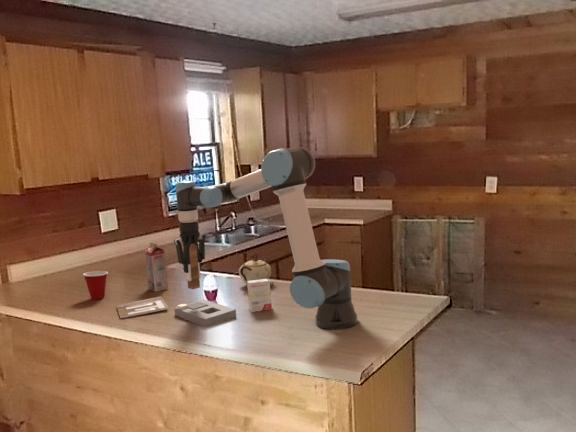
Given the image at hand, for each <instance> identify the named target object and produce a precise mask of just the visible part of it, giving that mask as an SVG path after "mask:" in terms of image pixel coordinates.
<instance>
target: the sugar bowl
mask: <svg viewBox="0 0 576 432" xmlns="http://www.w3.org/2000/svg"><path fill="white" fill-rule="evenodd" d="M271 274H272V268H271V266H270V264H269V260H268V259H266V258H264V259H262V260H261V259H258V254H257V253H255V252H253V253H251V260H248V261H245V262H243V263H242V265H240V267H239V268H238V275H239V278H240V279H241V280H242V281H243V282H244V284H245V285H246V286H247V281H252V280H260V279H268V280H269V279H270V277H271Z"/></svg>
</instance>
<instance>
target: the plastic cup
mask: <svg viewBox="0 0 576 432" xmlns="http://www.w3.org/2000/svg"><path fill="white" fill-rule="evenodd" d="M108 274H109V272H108V271H105V270H96V271H95V270H94V271H87V272H84V273H83V275H82V276H83V277H84V280H85V283H86V287H87V289H88V293H89V295H90V299H91V300H93V301H97V300H102V299H105V296H106V283H107V276H108Z"/></svg>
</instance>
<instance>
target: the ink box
mask: <svg viewBox="0 0 576 432" xmlns="http://www.w3.org/2000/svg"><path fill="white" fill-rule="evenodd" d="M246 287H247V296H248V297H247V298H248V308H249V309H248V310H249V311H250V312H251V313H256V312H255V311H257V312H261V311H270V310H272V309H273V307H272V306H273V305H272V292H271V282H270V280H269V278H268V279H260V280H252V281H247V285H246Z"/></svg>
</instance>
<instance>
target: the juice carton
mask: <svg viewBox="0 0 576 432" xmlns="http://www.w3.org/2000/svg"><path fill="white" fill-rule="evenodd" d="M144 258H145V259H144V261H145V268H146V279H147V287H148V290H149V291H152V292H155V293H156V292H160V291H163V290H167V289H169V285H168V276H167V265H166V256H165V249H164V248H161V247H158V244H157V243H153V242H149V246H148V247H147V248H146V249H145V250H144Z"/></svg>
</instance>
